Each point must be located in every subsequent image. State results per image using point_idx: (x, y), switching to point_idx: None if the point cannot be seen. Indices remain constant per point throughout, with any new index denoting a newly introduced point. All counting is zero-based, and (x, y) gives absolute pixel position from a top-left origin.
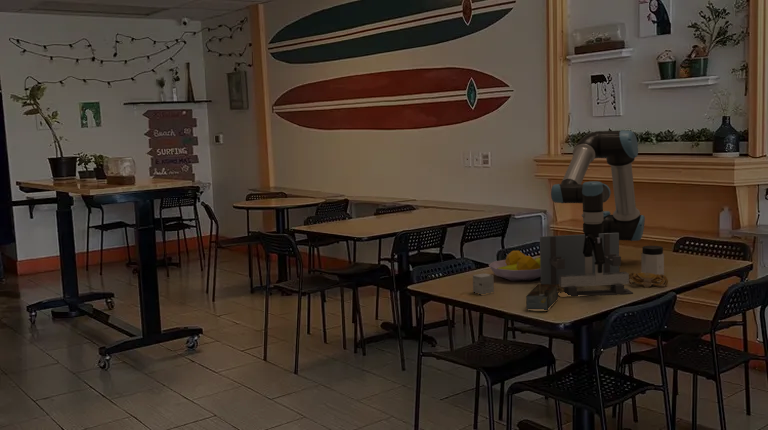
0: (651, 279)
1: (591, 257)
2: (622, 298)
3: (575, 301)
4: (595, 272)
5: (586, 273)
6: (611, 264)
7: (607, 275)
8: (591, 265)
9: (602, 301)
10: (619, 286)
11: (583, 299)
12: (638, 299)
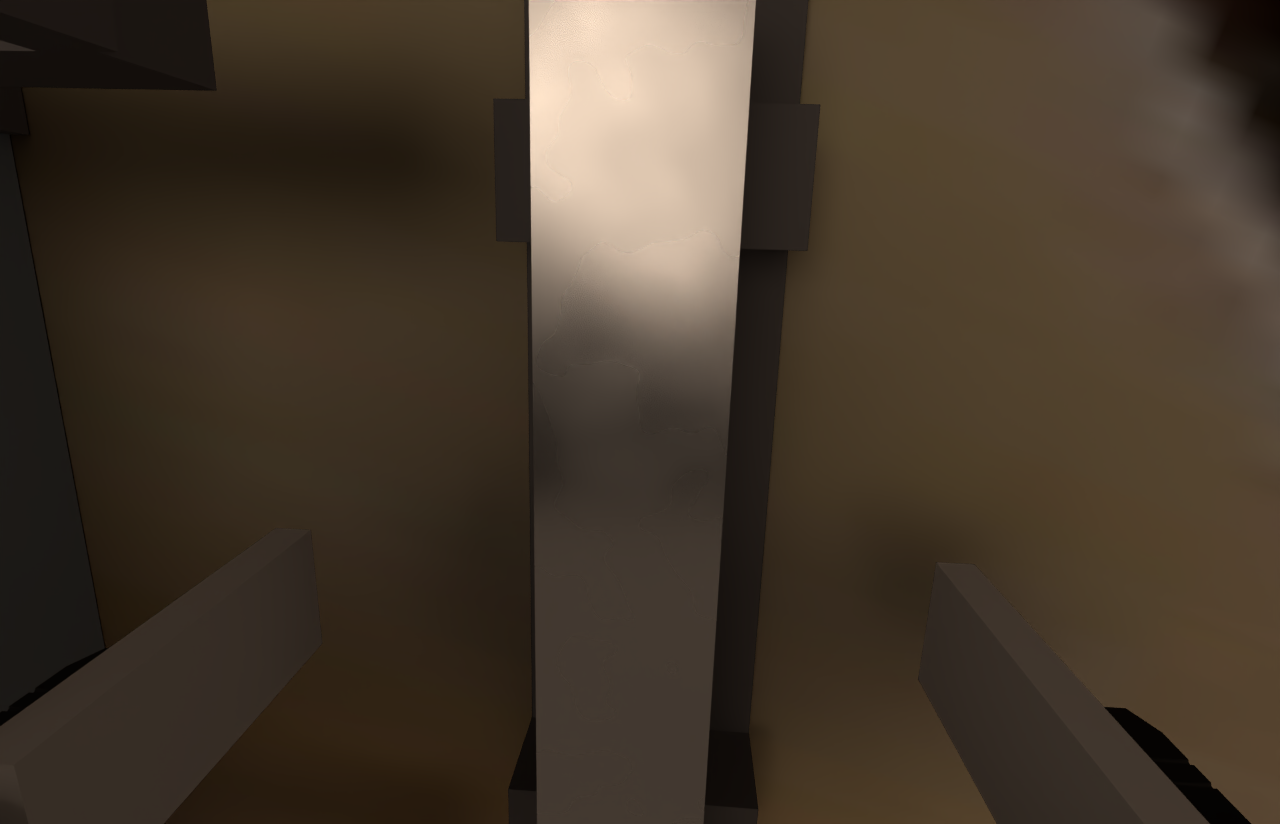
0: None
1: (32, 773)
2: (1020, 243)
3: (959, 802)
4: (1004, 808)
5: (320, 631)
6: (63, 83)
7: (727, 402)
8: (214, 628)
9: (1076, 541)
10: (809, 190)
11: (898, 701)
12: (1167, 35)
